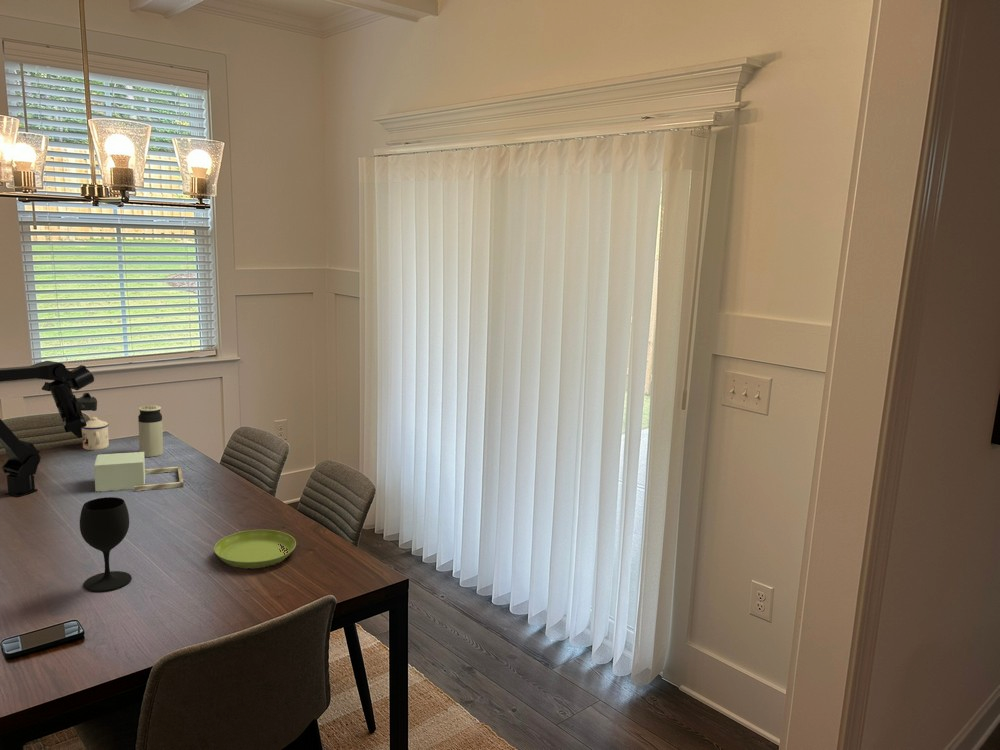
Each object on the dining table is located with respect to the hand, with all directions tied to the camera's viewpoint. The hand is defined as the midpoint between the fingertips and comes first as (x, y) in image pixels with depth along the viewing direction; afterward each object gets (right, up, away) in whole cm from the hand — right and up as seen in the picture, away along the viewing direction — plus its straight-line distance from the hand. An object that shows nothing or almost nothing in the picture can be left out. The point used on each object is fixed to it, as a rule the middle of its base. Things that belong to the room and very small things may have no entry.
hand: (80, 437), depth 247 cm
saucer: (+76, -28, -51) cm, 95 cm away
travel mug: (+10, -9, +29) cm, 32 cm away
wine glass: (+46, -29, -69) cm, 88 cm away
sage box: (+16, -15, -4) cm, 22 cm away
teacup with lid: (-13, -7, +33) cm, 36 cm away
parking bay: (+25, -15, +1) cm, 29 cm away
